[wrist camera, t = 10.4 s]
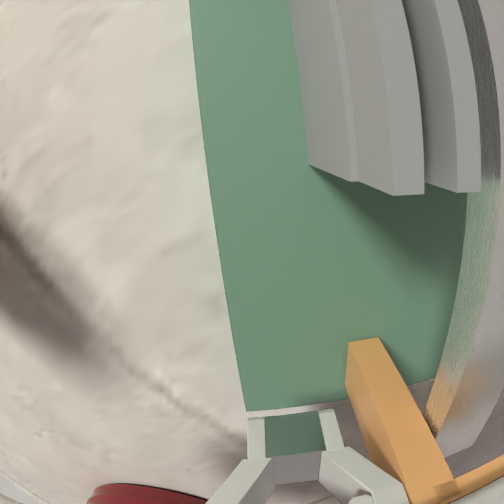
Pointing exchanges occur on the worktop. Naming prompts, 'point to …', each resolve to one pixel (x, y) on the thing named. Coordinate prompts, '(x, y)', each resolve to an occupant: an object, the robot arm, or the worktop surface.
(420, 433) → the bracket
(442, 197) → the heatsink base
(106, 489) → the canister
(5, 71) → the worktop surface
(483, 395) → the strap
